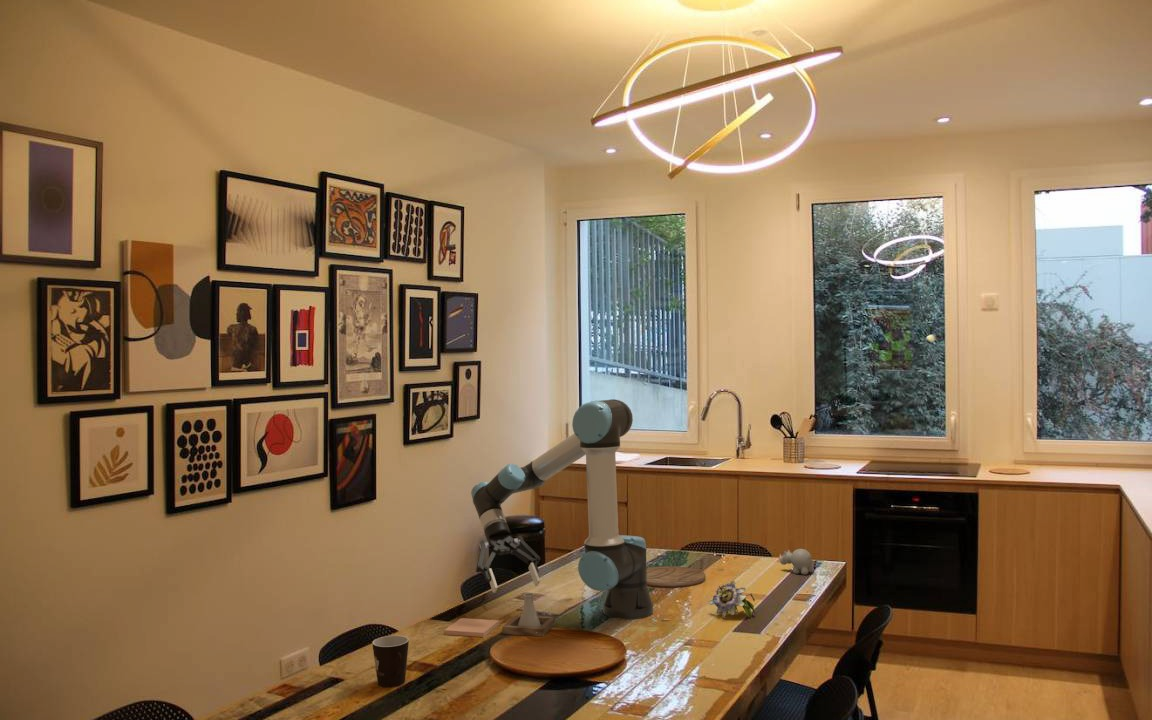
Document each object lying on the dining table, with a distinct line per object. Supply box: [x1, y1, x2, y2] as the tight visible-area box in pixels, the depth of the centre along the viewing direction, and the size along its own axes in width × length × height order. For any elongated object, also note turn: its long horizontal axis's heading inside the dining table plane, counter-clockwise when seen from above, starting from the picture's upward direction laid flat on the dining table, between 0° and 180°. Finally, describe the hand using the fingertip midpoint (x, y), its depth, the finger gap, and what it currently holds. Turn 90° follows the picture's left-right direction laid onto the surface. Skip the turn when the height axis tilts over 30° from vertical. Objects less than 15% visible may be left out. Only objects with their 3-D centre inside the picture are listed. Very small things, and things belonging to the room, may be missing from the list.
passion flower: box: [707, 579, 756, 619], centre depth 262 cm, size 11×11×12 cm
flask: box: [517, 592, 541, 627], centre depth 252 cm, size 7×7×10 cm
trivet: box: [646, 565, 706, 589], centre depth 307 cm, size 25×25×2 cm
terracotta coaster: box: [443, 617, 500, 638], centre depth 253 cm, size 12×12×1 cm
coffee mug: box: [372, 635, 410, 689], centre depth 210 cm, size 12×9×10 cm
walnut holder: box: [501, 614, 557, 637], centre depth 252 cm, size 12×12×2 cm
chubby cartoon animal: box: [779, 548, 814, 576], centre depth 312 cm, size 7×12×8 cm, turn 48°
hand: (516, 586), depth 257 cm, fingers open, 13 cm apart
